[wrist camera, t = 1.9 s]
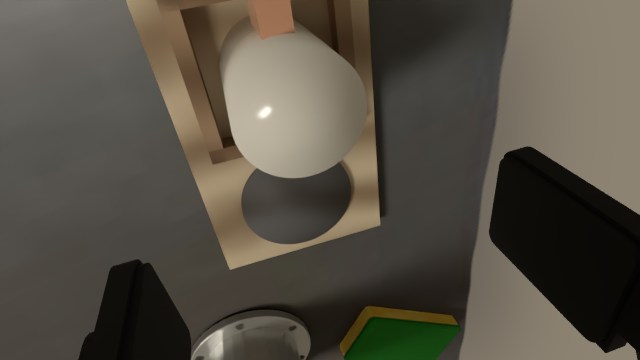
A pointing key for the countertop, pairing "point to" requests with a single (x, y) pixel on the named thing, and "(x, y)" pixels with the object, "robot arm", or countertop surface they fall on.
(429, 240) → the countertop surface
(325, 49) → the jug
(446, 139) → the countertop surface
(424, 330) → the dish sponge
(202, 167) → the jug stand
